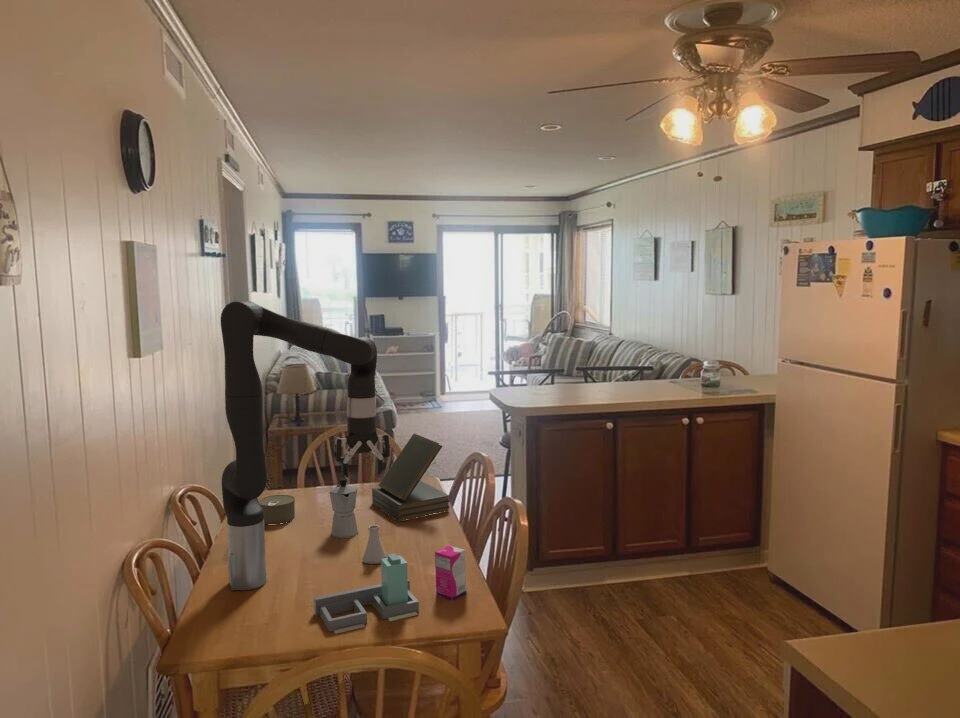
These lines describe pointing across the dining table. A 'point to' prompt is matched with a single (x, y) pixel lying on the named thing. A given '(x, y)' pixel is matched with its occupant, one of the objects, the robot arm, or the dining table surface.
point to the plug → (394, 580)
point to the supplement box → (450, 572)
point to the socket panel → (360, 607)
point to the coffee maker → (343, 510)
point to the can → (278, 509)
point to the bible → (410, 483)
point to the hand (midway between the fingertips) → (362, 475)
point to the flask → (374, 547)
